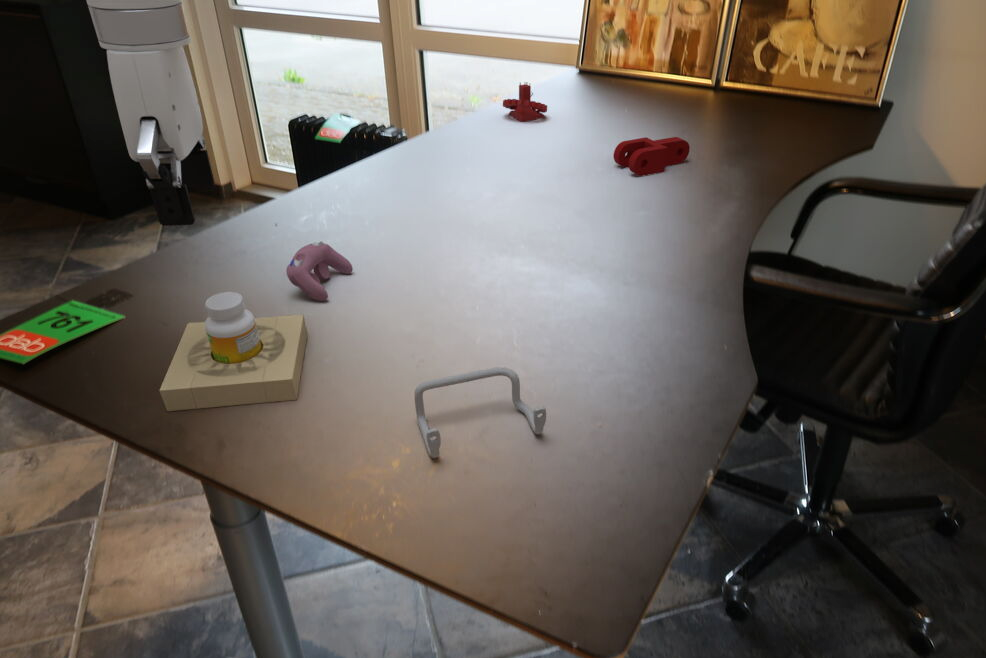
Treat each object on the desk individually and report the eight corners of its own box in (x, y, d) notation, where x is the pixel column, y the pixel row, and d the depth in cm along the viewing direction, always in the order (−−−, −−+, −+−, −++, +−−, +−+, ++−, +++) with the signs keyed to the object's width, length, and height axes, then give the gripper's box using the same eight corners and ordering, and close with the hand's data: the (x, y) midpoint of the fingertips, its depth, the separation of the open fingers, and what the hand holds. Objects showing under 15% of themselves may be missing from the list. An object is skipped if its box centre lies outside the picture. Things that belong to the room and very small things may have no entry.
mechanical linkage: (632, 178, 140) (635, 153, 137) (612, 166, 145) (614, 142, 143) (695, 165, 147) (698, 141, 144) (673, 155, 152) (676, 132, 149)
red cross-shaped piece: (552, 112, 176) (553, 77, 172) (541, 126, 167) (542, 89, 162) (511, 108, 178) (511, 74, 173) (497, 122, 169) (497, 86, 164)
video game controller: (334, 278, 107) (308, 238, 104) (357, 269, 106) (331, 228, 102) (303, 310, 99) (274, 268, 96) (328, 301, 98) (299, 258, 95)
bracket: (429, 466, 73) (426, 431, 69) (414, 416, 78) (410, 382, 75) (546, 439, 76) (548, 405, 73) (522, 393, 82) (523, 359, 79)
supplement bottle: (209, 372, 85) (187, 302, 79) (247, 352, 88) (229, 284, 83) (237, 388, 82) (217, 317, 76) (275, 366, 86) (258, 298, 80)
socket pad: (166, 411, 78) (159, 390, 77) (194, 342, 90) (187, 322, 88) (296, 399, 81) (292, 378, 79) (307, 334, 92) (303, 314, 90)
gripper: (125, 9, 70) (171, 175, 80) (60, 46, 56) (126, 242, 66) (205, 9, 71) (241, 173, 81) (161, 46, 57) (211, 239, 67)
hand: (189, 204), depth 73 cm, fingers open, 9 cm apart
